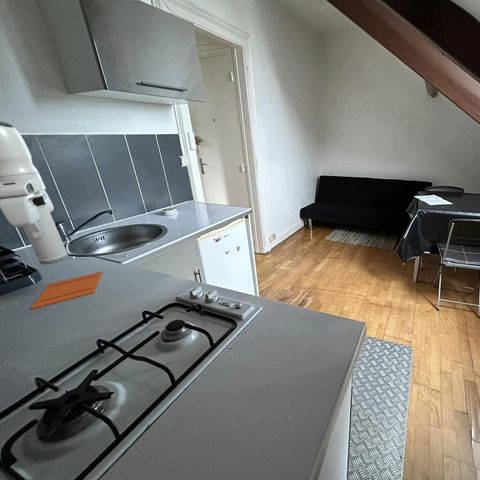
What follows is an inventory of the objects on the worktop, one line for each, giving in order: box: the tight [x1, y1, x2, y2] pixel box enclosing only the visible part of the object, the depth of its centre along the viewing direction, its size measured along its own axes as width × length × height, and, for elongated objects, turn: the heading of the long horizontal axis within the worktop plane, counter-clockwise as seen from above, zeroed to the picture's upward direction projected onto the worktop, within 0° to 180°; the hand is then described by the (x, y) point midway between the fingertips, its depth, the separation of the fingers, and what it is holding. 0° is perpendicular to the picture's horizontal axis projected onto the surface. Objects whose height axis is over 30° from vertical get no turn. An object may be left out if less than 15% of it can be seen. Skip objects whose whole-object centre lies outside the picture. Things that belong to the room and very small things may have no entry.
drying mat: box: [30, 270, 103, 310], centre depth 82 cm, size 14×16×1 cm
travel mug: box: [22, 196, 69, 265], centre depth 75 cm, size 6×7×20 cm
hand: (44, 233), depth 75 cm, fingers closed on travel mug, 6 cm apart
